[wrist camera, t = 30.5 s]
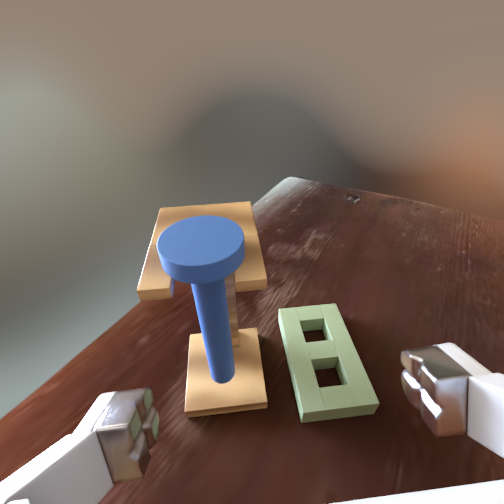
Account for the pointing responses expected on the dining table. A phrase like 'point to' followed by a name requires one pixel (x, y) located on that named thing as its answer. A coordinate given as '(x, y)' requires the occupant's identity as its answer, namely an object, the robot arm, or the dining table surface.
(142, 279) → the stand
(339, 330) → the holder
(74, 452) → the robot arm
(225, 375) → the peg
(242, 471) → the dining table surface
